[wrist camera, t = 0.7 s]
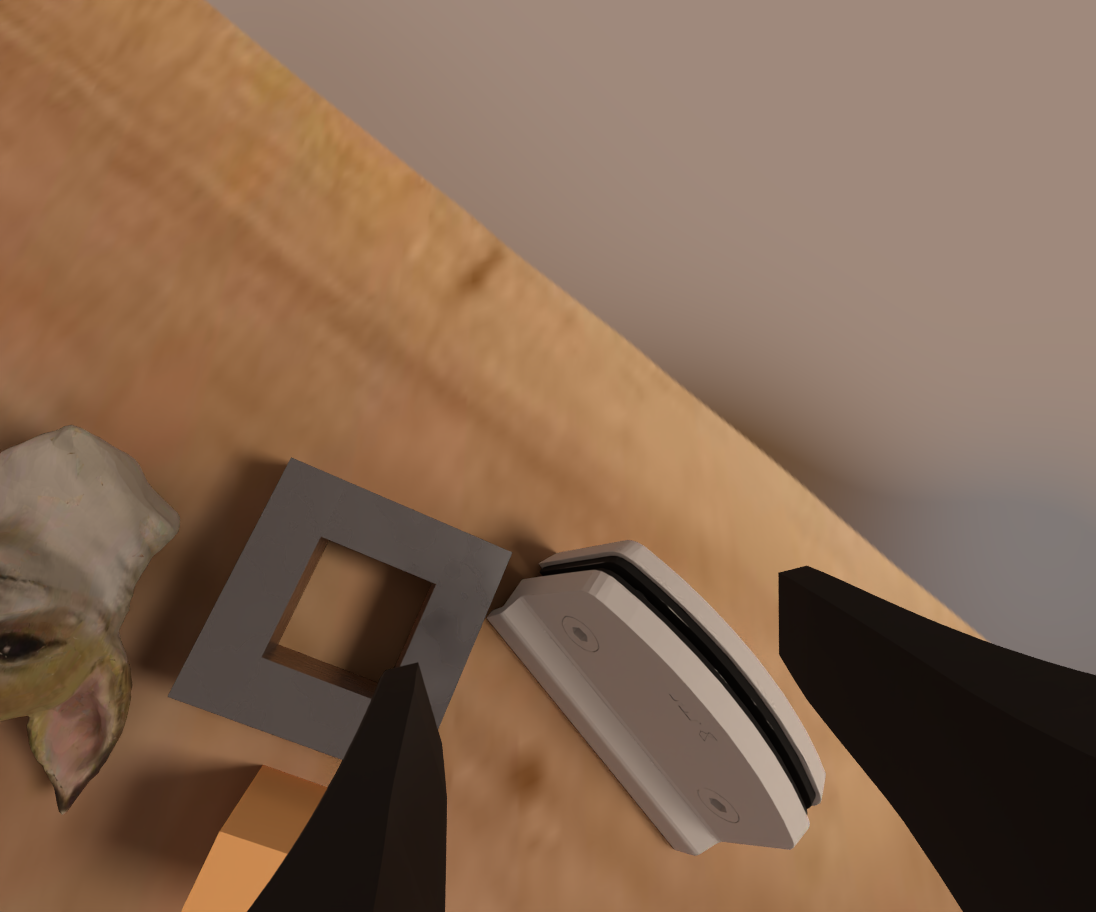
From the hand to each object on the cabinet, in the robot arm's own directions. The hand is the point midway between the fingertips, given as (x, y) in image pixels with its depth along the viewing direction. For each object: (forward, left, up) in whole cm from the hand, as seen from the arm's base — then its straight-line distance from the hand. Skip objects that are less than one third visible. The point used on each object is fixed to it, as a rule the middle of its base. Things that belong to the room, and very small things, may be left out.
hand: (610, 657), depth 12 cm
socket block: (-4, +5, -21) cm, 22 cm away
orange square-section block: (-14, +4, -21) cm, 26 cm away
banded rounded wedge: (-2, -10, -22) cm, 24 cm away
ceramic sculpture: (-8, +17, -22) cm, 29 cm away
